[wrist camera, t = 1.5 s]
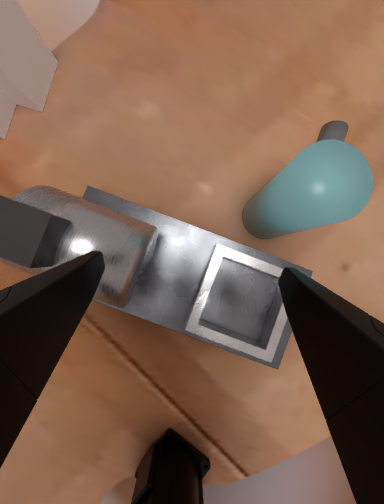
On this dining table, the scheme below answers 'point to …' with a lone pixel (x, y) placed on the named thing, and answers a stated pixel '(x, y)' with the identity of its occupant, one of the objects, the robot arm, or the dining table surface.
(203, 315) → the motor plate
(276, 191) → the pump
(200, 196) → the dining table surface
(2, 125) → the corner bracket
